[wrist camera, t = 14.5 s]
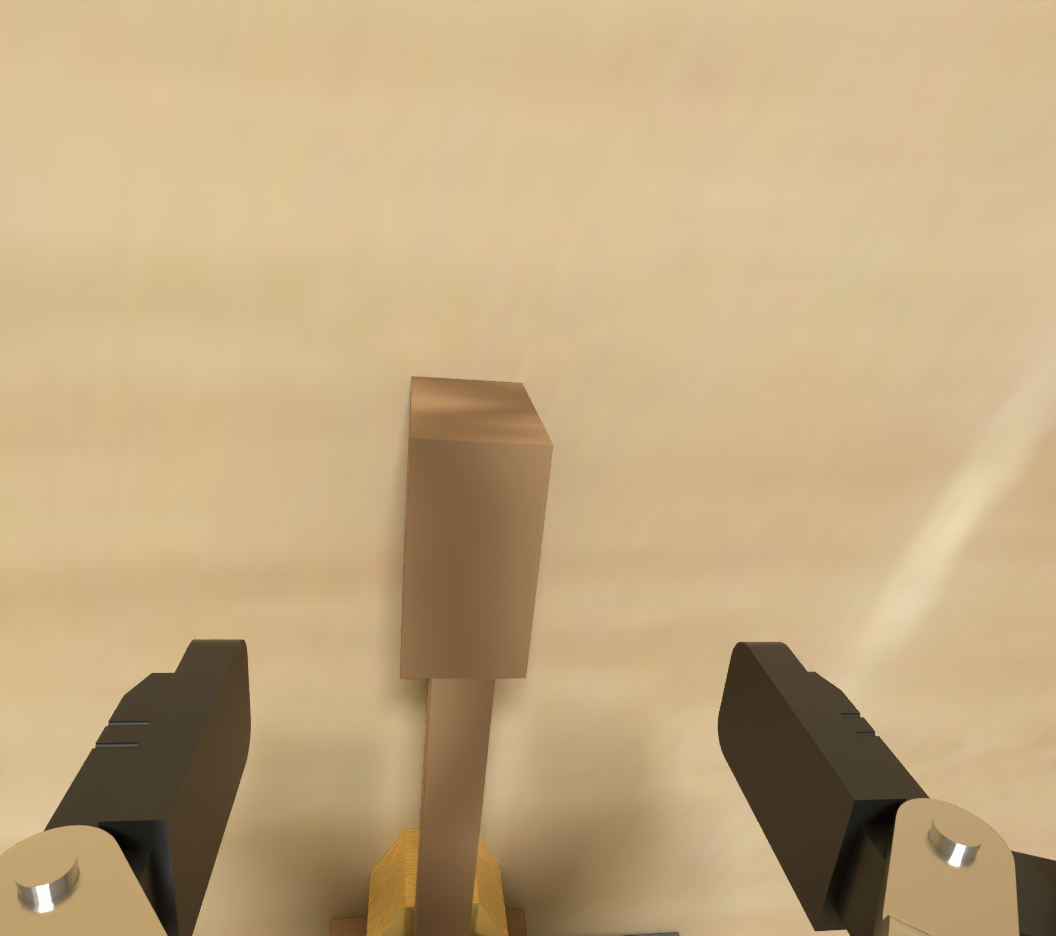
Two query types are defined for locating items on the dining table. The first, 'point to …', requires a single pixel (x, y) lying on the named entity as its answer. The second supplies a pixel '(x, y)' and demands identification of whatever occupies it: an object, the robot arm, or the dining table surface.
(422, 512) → the wooden mallet
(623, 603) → the dining table surface
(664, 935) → the spacer mat
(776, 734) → the robot arm
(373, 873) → the brass nut
